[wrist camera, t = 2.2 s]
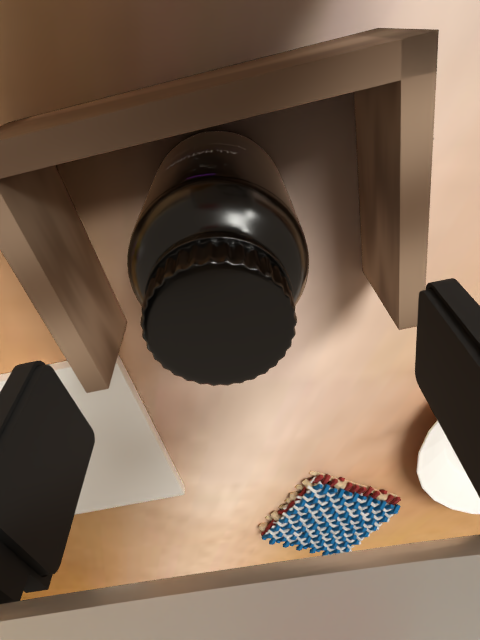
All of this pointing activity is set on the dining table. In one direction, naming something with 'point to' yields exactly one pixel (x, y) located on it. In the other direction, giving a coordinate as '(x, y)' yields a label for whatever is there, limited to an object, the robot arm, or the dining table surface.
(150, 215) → the supplement bottle
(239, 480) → the dining table surface
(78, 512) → the white square board
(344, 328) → the dining table surface
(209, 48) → the dining table surface
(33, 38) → the dining table surface
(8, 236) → the shelf bay
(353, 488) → the woven mat
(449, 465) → the plate
